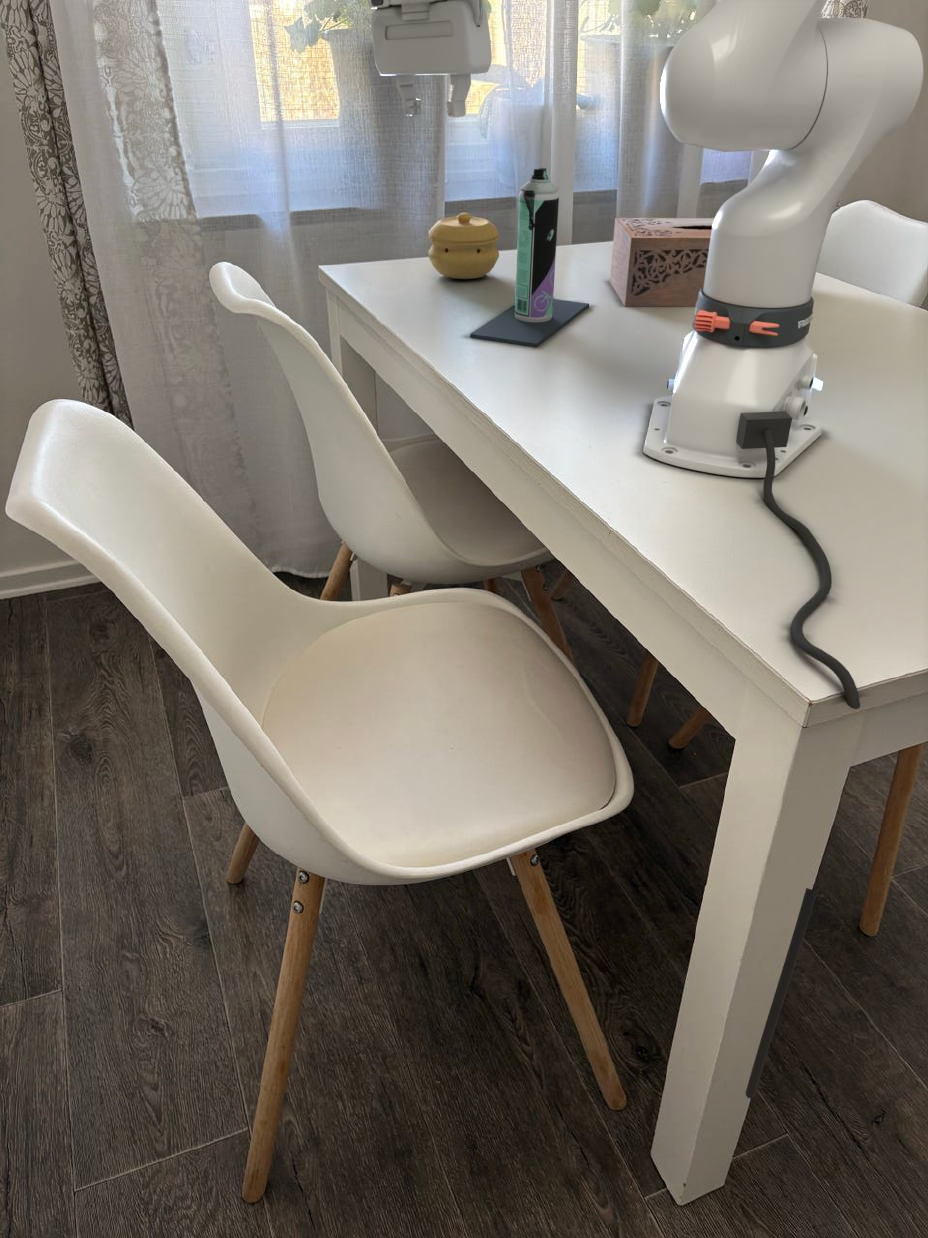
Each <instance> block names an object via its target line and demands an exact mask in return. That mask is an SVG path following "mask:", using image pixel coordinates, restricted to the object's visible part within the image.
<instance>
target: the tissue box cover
mask: <svg viewBox="0 0 928 1238" xmlns="http://www.w3.org/2000/svg"><path fill="white" fill-rule="evenodd" d="M714 218H715V217H615V218H614V230H613V238H612V239H613V240H612V249H611V250H612V251H611V261H610V262H611V263H610V275H609V284H610V285H611V287H612V288H613V290H614V291H615V293H616V295H617V297H618V298H619V299H620V300H621V303H622V304H623V306H624V307H695V305H696V302H697V300H698V295H699V291H700V289H702V288H703V287H704V281H705V273H706V266H707V259H708V252H709V245H710V237H711V230H712V224H713V221H714Z"/></svg>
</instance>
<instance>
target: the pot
mask: <svg viewBox="0 0 928 1238" xmlns="http://www.w3.org/2000/svg"><path fill="white" fill-rule="evenodd" d="M428 239H429V241H431V243H432V245H431V247H430V248H429V250H428V257H429V261H430V262H431V265H432V266H433V268H434V269H435V271H436V272H438V273H439V274H441V275H442V276H444V277H446V278H449V279H450V278H451V279H457V280H472V279H478V278H481V277H484V276H487V274H489V273H490V272H491V271H492V270H493V269H494V267H495V265H496V263H497V262H498V259H499V257H500V252H499V249H498V248H497V246H496V243H498V241H499V240H500V233H499V230H498V228H497V227H496V226H495V224H493V223H492V222H491V221H489V219H486V218H483V217H478V216H477V217H476V216H471V215H470V214H469V213H468V212H460V213H459V214H458V215H457V216H449V217H445V218H442V219H439V220H438V221H436V222H435V223H434V224H433V226H431V228H430V230H429V231H428Z"/></svg>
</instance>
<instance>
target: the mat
mask: <svg viewBox="0 0 928 1238" xmlns="http://www.w3.org/2000/svg"><path fill="white" fill-rule="evenodd" d="M588 308H590V303H589V302H580V301H574V300H573V301H572V300H567V299H566V300H565V299H557V298H553V309H552V318H551V319H550V320H548V321H545V322H525V321H520V320H518V319H516V318H515V304H514V305H512V306H510V307H509V308H507V309H506V310H505V311H503V312H502V313H500V314H498V315H497V316H495V317H494V318H492V319H490V320H489V321H487V322H486V323H485V324H483V325H481V326H479V327H478V328H476V329H475V330H474V331H472V332H471V333H470V334H469V337H470V338H472V339H478V340H479V339H480V340H485V341H493V342H500V343H505V344H511V345H520V346H526V347H533V348H538V347H539V346H540V345H542V344H543V343H544V342H545V341H547V340H549V338H551V337H552V336H553V335H554V334H556V333H557V332H558V331H560V330H561V329H562V328H564V327H565V326H566V325H568V324H569V323H570V322H571V321H573V320H574V319H575V318H576V317H577V316H579V315H580V314H581V313H583V312H584V311H586V310H587V309H588Z"/></svg>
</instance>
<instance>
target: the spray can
mask: <svg viewBox="0 0 928 1238" xmlns="http://www.w3.org/2000/svg"><path fill="white" fill-rule="evenodd" d="M559 189H560V188H559V186H557V185H555V184H554V183H553V182H552V181H551V178H550V177H549V176H548V174H547V168H546V167H539V168H535V169H533V174H531V177H529V180H528V181H527V182H526V183H524V184H523V185H521V186H520V188H519V190H520V191H519V193H518V195H519V196H518V213H517V214H518V217H517V218H518V221H517V242H516V243H517V246H516V270H515V271H516V273H515V294H514V295H515V297H514V298H515V299H514V301H515V302H514V305H515V318H516V319H518V320H520V321H525V322H545V321H548V320H550V319H551V318H552V309H553V299H554V290H555V289H554V288H555V273H556V255H557V241H558V239H557V237H558V222H559V205H560V204H559V203H560V192H559Z"/></svg>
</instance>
